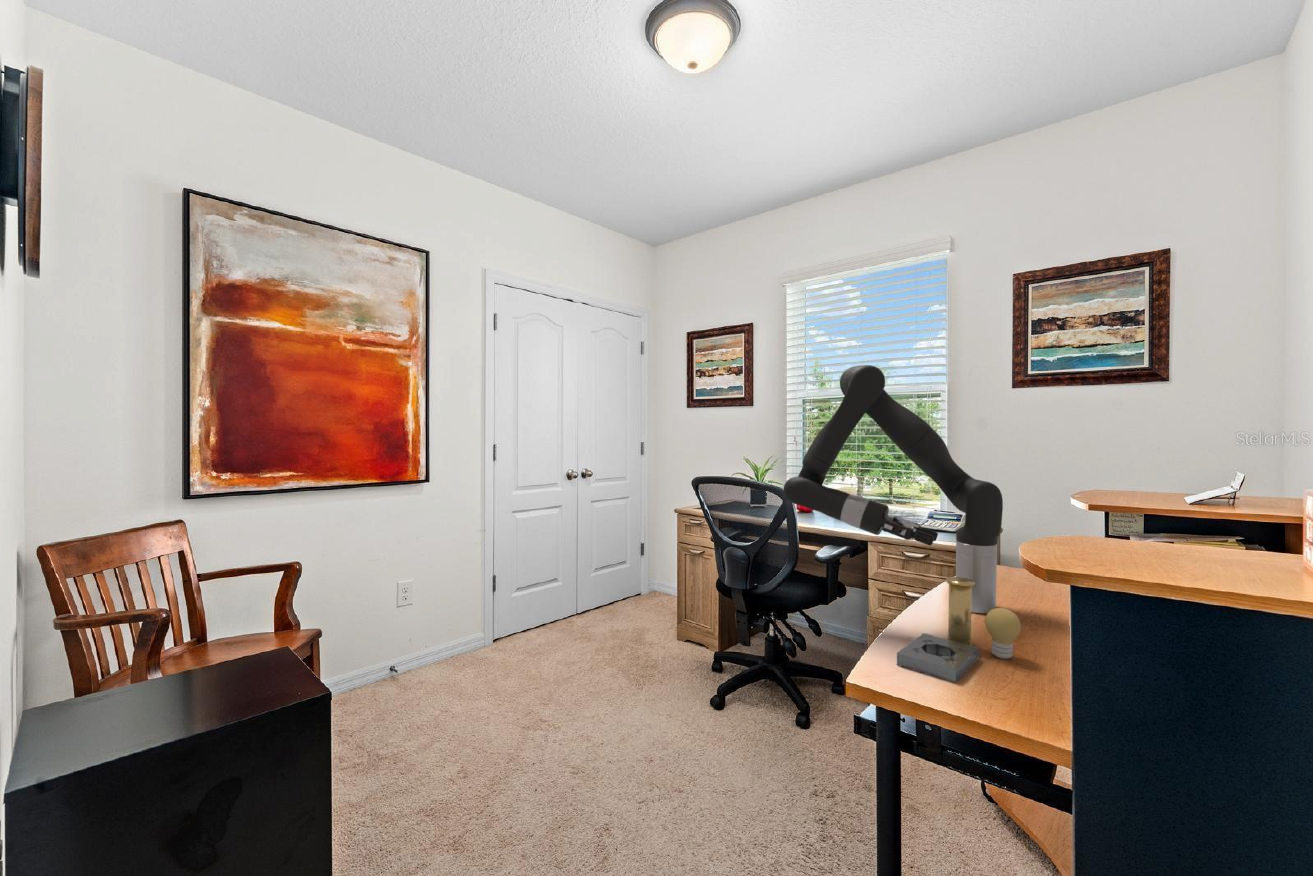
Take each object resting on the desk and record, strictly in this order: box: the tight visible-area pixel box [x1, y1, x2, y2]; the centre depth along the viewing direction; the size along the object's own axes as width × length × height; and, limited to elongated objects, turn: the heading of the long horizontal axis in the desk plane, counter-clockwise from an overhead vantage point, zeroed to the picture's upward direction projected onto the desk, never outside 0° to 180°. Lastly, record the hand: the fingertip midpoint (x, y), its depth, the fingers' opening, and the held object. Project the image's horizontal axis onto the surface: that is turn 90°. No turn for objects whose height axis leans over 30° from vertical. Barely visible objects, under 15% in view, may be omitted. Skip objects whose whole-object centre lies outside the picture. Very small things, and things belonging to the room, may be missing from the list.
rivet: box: [945, 576, 975, 646], centre depth 124 cm, size 6×6×14 cm
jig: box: [896, 632, 980, 684], centre depth 115 cm, size 14×11×2 cm
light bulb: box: [984, 607, 1022, 660], centre depth 117 cm, size 6×6×10 cm
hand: (935, 539), depth 129 cm, fingers open, 8 cm apart
